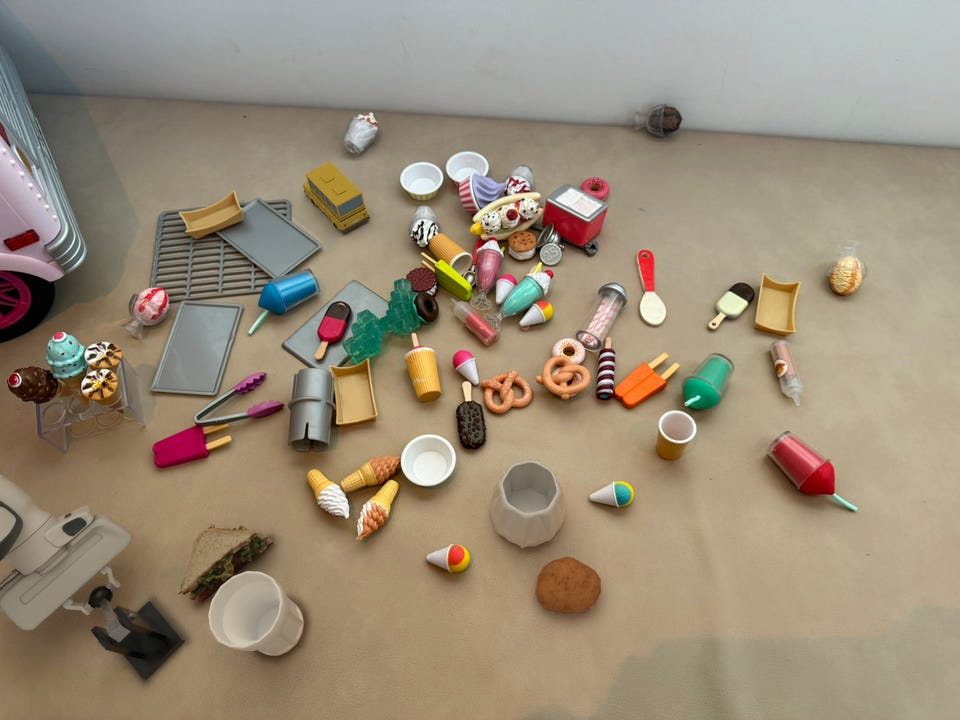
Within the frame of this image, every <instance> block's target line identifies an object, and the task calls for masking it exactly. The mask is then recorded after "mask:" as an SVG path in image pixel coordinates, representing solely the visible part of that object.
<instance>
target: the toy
mask: <svg viewBox="0 0 960 720" xmlns="http://www.w3.org/2000/svg"><path fill="white" fill-rule="evenodd" d="M304 176H305V177H306V179H307V181H305V182H302V188H303V194H305V195H306V196H308V197H309V200H311V203H312V204H313V205H314V206H317V207H318V208H319V209H320V210H321V211H322V212H323V213H324V215H326V217H327V218H328V219H329V220H330V221H331V223H332V224H333V226H334V228H335V229H336V230H339V231H340V232H341V234H346V233H348V232H349V231H351V230H353V229H354V228H357V227H358V226H360V225H362V224H364V223H365V222H367V221H369V220H370V219H371V216H370V215H369V212H368V209H367V208H366V204H365V200H364V197H363V193H362V191H361V190H360V189H359V188H358V187H357V186H356V185H355V184H354V183H353V182H352V181H351V180H350V179H349V178H348V177H347V176H346V175H345V174H344V173H343V172H341V170H340V169H339V168H338V167H336V166H335V164H333V163H332V162H331V161H328V162H326V163H324V164H322V165H320V166H318V167H316V168H314V169H312V170H310V171H308V172H307V173H304Z"/></svg>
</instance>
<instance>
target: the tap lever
mask: <svg viewBox="0 0 960 720" xmlns="http://www.w3.org/2000/svg"><path fill="white" fill-rule="evenodd" d="M113 598H114V593H113V592H111V589H108V588H107V587H106V585H99V586H96V587H94V588H93V589H92V590H91V591H90V593H89V595H88V600H89V603H90V604H91V605H92V606H93V607H96V609H101V610H102V612H103V614H104V616H105V618H106V621H107V623H106V624H105V625H104V626H103V628H105V629H106V631H107V633H108V635H109V637H111V638H113V639H114V640H116V641H117V642H120V641H121V640H123V639H124V638H125V637H126V636H127V635H128V634H129V633H130V632H131V631H130V629H128V628H127V627H126V626H125V625H124V623H123V622H122V621H121V620H120V618H119V617H118V616H117V615H116V613H115V612H114V611H113V609H114V608H113V606H112V605H111V602H112V601H113Z"/></svg>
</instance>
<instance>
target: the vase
mask: <svg viewBox="0 0 960 720" xmlns="http://www.w3.org/2000/svg"><path fill="white" fill-rule="evenodd" d="M565 506H566V505H565V495H564V492H563V489H562V487H561V484H560V482H559V481H558V477H557V473H556V472H555V470H554V469H552V468H551V467H549V466H547V465H546V464H543V463H542V462H540V461H538V460H536V459H527V460H522V461H516V462H514V463H511V464H510V465H508V466H507V468H506V470H505V472H504V473H503V474H502V475H501V476H500V477H499V479H498V480H497V482H496V483H495V485H494V488H493V490H492V494H491V497H490V501H489V515H490V517H491V521H492V523H493V526H494V528H495V533H497V534H498V535H500V536H502V537H503V538H504V539H506V540H507V541H508V542H509V543H512V544H515V545H517V546H519V548H521V549H525V548H526V547H537V546H539V545H541V544H544V543H546V542H550V541H552V540H553V538H554V537H555V535H556V534H557V532H558V531H559V529H560V528H561V526H562V525H563V522H564V519H565V517H566V507H565Z"/></svg>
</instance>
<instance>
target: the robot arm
mask: <svg viewBox="0 0 960 720" xmlns="http://www.w3.org/2000/svg"><path fill="white" fill-rule="evenodd" d="M132 542H133V534H132V531H131V530H130V529H128V527H126V526H125V525H123V524H122V523H120V522H119V521H118V520H116V519H115V518H113V517H112V516H109V515H107V514H103V513H97V514H96V513H95V510H94V509H93V508H92V507H91V506H90V505H87V504H85V505H82V506H80V507H78V508H75V509H74V510H71V511H70V512H67V513H65V514H63V515H61V516H59V517H55V516H54V515H53V514H52V513H51V512H49V511H46V510H44V509H42V508H41V507H40V506H38V505H37V504H36V503H35V501H34V500H33V498H32V497H31V495H29V494H28V493H27V492H26V491H25V490H24V489H22V488H21V487H20V486H19V485H17V484H16V483H15V482H14V481H12V480H10V479H9V478H8V477H6V476H5V475H3V474H2V473H0V563H1V562H2V561H5V562H7V564H9V565H10V566H12V568H14V569H13V570H11V572H9V573H8V574H7V575H5V577H4V578H2V579H1V580H0V612H1V613H5V615H6V616H7V617H8V618H9V619H10V620H11V621H12V622H13V623H14V624H15V625H16V626H17V627H18V628H20V630H22V631H24V632H25V631H33V630H35V629H36V628H37V627H38V626H39V625H40V624H42V623H43V622H44V621H45V620H46V619H48V617H50V616H51V615H52V614H53V613H54V612H55V611H56V610H58V609H59V608H60V607H61V606H62V607H63V608H64V609H65V610H70V611H71V610H72V611H81V612H82V613H83V614H84V615H86V616H89V615H91V614H92V613H93V612H94V611H95V610H96V609H97V608H96V607H93V606H92V605H91V604H90V603H89V599H87V600H86V601H84V602H77V601H74V597H73V596H74V594H76V593H77V592H78V591H79V590H80V589H82V587H83V586H85V585H86V584H87V583H88V582H90V580H91V579H92V578H93V577H95V576H96V575H97V574H98V573H100V574H102V576H104V575H106V574H107V577H108V581H107V582H106V583H105V586H106V587H107V588H108V589H111V592H113V594H114V593H115V592H116V591H118V589H119V588H121V587H122V584H121V583H120V581H118V580H117V579H116V578H114V573H113V569H112V565H111V564H110V563H111V562H112V561H113V560H114V559H115V558H116V557H117V556H119V555H120V554H121V553H123V551H124V550H125V549H126V548H127V547H129V546H130V545H131V544H132Z"/></svg>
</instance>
